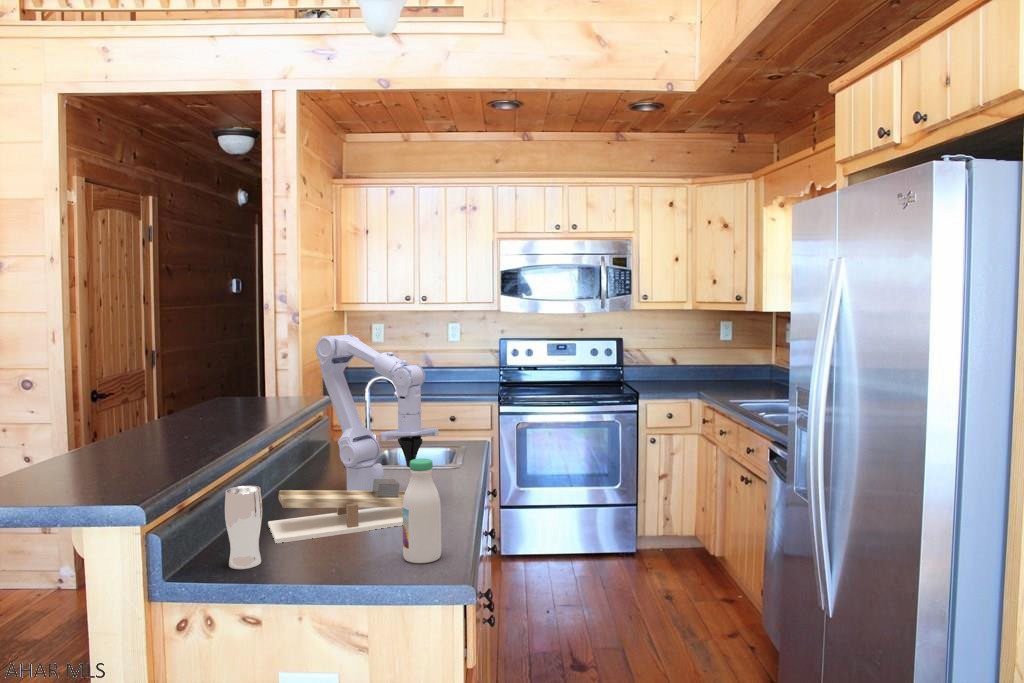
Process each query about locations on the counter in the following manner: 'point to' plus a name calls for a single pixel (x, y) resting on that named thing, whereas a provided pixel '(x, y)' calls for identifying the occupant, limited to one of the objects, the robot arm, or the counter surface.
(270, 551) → the counter surface
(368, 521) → the beam stand
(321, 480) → the counter surface
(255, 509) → the beer glass
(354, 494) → the balance beam
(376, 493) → the block
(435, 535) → the milk bottle
